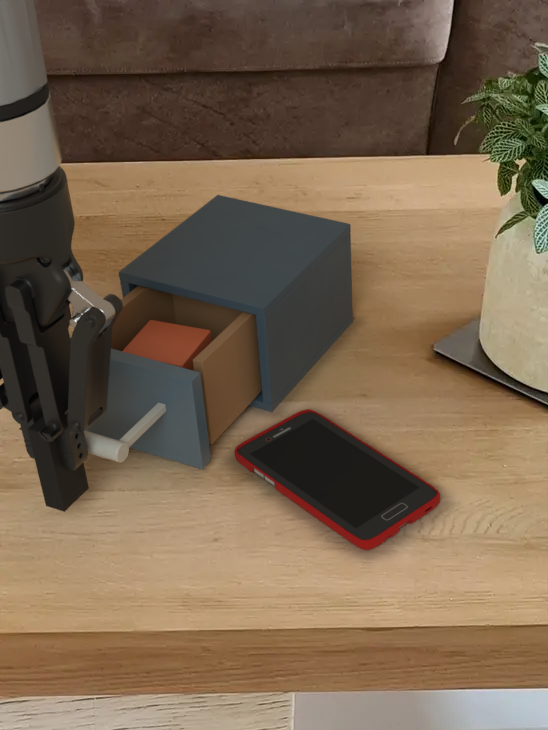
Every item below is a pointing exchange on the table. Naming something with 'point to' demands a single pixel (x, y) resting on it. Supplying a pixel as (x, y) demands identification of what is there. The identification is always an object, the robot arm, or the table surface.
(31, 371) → the robot arm
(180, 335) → the block
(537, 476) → the table surface
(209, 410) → the drawer
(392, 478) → the cell phone
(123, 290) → the cabinet
